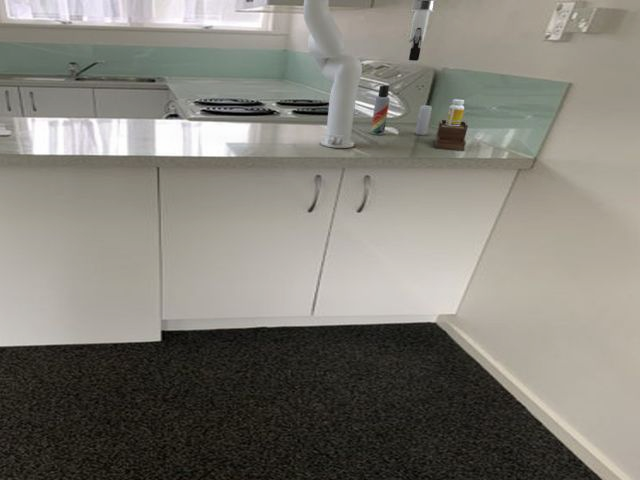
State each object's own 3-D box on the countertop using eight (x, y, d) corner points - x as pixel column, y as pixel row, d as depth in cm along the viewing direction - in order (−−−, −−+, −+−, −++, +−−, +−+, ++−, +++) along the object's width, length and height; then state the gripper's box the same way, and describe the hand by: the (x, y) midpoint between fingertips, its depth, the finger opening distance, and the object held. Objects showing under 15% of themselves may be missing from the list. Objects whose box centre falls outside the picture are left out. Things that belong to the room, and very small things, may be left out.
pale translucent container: (426, 134, 187) (432, 105, 182) (426, 136, 183) (432, 107, 178) (414, 133, 188) (420, 105, 183) (414, 135, 184) (420, 106, 179)
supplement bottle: (442, 125, 166) (448, 99, 162) (449, 123, 169) (455, 98, 165) (455, 127, 163) (462, 101, 158) (462, 126, 166) (468, 100, 161)
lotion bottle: (376, 135, 181) (384, 86, 172) (367, 133, 186) (374, 84, 176) (386, 134, 183) (394, 85, 174) (377, 132, 188) (385, 84, 179)
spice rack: (463, 151, 159) (469, 128, 155) (435, 148, 162) (440, 125, 158) (461, 143, 172) (466, 121, 168) (435, 140, 175) (439, 119, 171)
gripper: (413, 8, 158) (404, 59, 166) (411, 5, 144) (402, 60, 151) (434, 9, 156) (424, 59, 164) (434, 5, 141) (423, 61, 149)
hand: (413, 60), depth 158 cm, fingers open, 9 cm apart
